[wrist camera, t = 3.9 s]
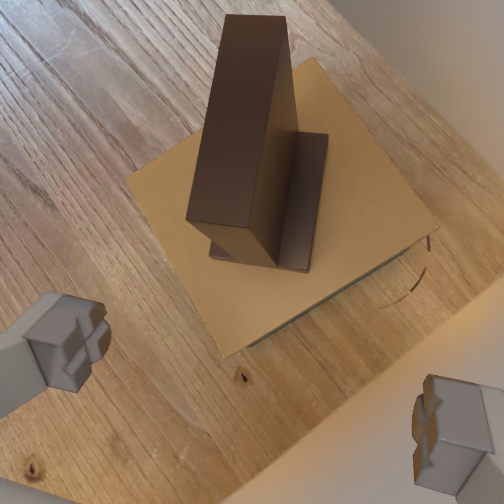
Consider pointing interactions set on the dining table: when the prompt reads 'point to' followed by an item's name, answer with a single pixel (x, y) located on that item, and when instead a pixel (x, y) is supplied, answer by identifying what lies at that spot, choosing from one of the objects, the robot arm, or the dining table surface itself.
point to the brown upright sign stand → (257, 154)
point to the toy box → (326, 234)
